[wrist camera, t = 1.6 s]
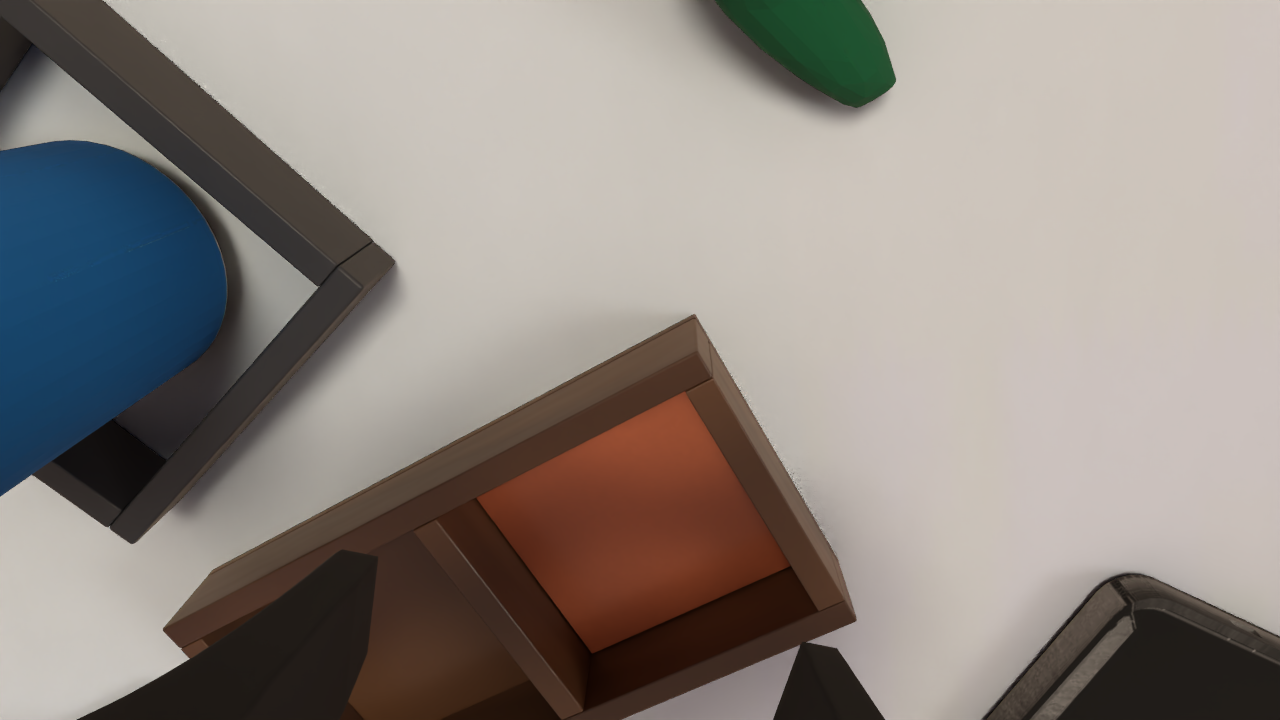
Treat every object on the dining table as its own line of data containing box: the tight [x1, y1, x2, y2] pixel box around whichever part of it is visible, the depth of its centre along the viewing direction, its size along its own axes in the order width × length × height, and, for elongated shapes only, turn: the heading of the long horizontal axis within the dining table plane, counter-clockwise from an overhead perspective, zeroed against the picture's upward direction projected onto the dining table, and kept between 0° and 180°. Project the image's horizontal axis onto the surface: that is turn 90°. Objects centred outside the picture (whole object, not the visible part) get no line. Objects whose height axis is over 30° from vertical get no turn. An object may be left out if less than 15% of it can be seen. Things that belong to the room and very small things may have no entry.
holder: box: [0, 0, 395, 544], centre depth 21 cm, size 11×11×2 cm
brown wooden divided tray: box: [163, 314, 857, 720], centre depth 24 cm, size 9×17×3 cm, turn 120°
